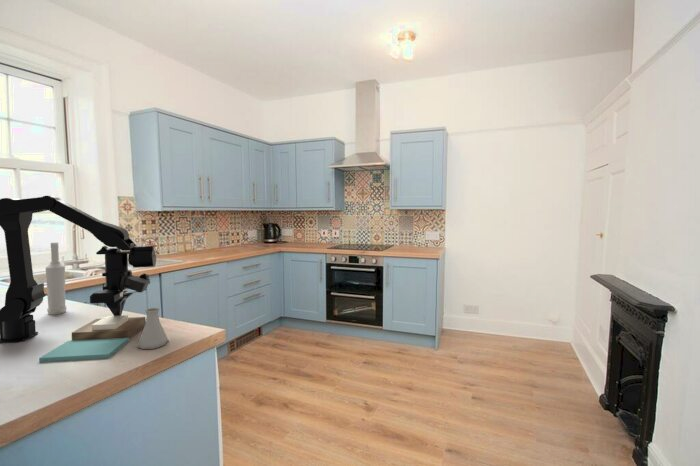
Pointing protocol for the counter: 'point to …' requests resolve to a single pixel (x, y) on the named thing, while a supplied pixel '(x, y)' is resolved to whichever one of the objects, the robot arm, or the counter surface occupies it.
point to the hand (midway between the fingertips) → (118, 318)
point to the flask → (152, 331)
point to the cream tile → (110, 322)
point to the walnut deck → (110, 330)
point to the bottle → (55, 283)
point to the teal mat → (85, 349)
